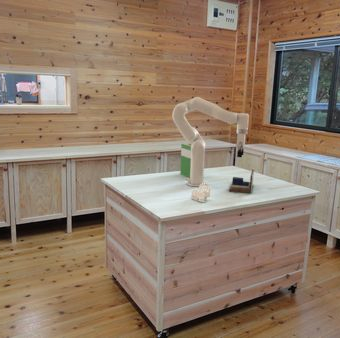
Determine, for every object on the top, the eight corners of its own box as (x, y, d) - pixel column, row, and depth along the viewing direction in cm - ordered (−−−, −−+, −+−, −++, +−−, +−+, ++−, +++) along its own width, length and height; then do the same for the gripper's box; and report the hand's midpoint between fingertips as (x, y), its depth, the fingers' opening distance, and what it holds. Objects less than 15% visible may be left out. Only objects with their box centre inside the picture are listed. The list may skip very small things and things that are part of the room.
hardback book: (180, 173, 303) (181, 144, 298) (188, 172, 307) (189, 143, 301) (192, 178, 288) (193, 147, 283) (200, 177, 292) (201, 147, 287)
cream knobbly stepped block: (208, 204, 232) (214, 188, 233) (202, 202, 228) (208, 185, 229) (195, 199, 241) (201, 183, 242) (188, 197, 237) (194, 181, 238)
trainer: (231, 186, 260) (231, 178, 259) (232, 185, 265) (232, 176, 263) (248, 188, 257) (249, 180, 256) (249, 186, 262) (250, 178, 261)
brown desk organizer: (229, 191, 255) (230, 174, 253) (233, 183, 278) (234, 167, 275) (250, 193, 252) (252, 176, 249) (252, 185, 275) (253, 168, 272)
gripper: (238, 129, 268) (236, 153, 272) (235, 132, 252) (233, 157, 256) (248, 130, 266) (246, 154, 270) (246, 133, 250) (244, 158, 254)
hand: (240, 156), depth 263 cm, fingers open, 9 cm apart
